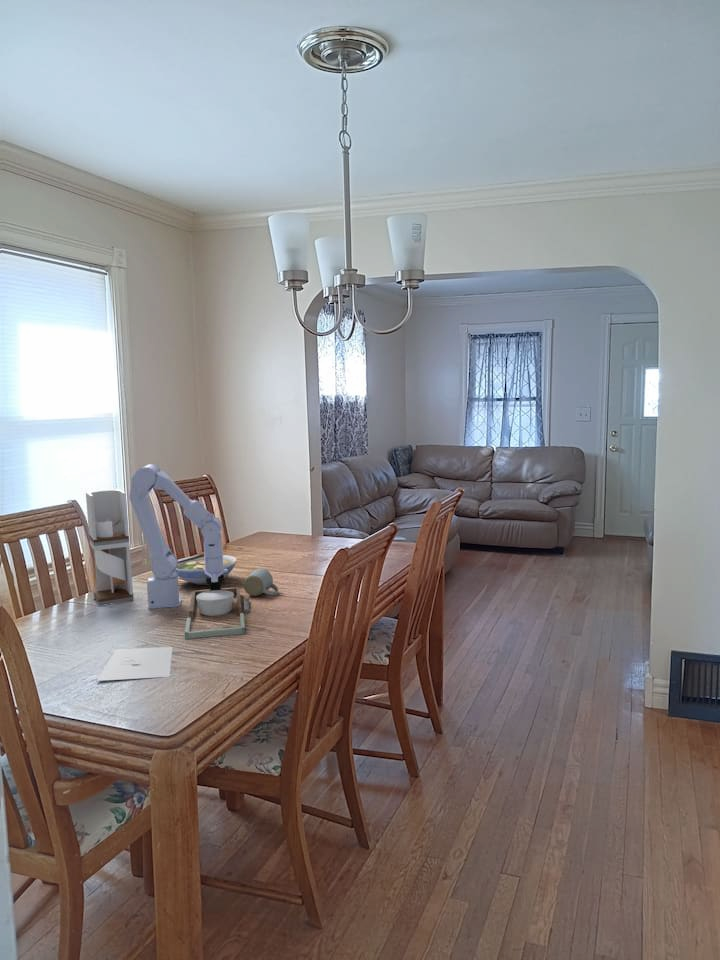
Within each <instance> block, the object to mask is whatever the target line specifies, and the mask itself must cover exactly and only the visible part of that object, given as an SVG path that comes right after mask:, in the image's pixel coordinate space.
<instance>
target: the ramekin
mask: <svg viewBox="0 0 720 960" xmlns="http://www.w3.org/2000/svg"><path fill="white" fill-rule="evenodd" d="M234 597H235V596H234V593H233V592H230V591H224V590H216V591H207V592H203V593H200V594H198V595H197V596H196V602H197V606H198V611H199V613H200V614H201V615H203V616H207V617H215V616H217V617H218V616H223V615H226V614H229V613H230V612H231V611H232V609H233V604H234V603H233V602H234Z"/></svg>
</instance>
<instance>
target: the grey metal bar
mask: <svg viewBox="0 0 720 960" xmlns="http://www.w3.org/2000/svg"><path fill="white" fill-rule="evenodd" d="M243 611H244V612H243V614H249V613H250V598H249V597H248V598H244V599H243Z"/></svg>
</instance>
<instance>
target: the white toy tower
mask: <svg viewBox="0 0 720 960" xmlns="http://www.w3.org/2000/svg"><path fill="white" fill-rule="evenodd" d="M85 500H86V511H87V512H86V514H87V524H88V538H89V545H90V546H91V548H92V549H93V552H94V553H93V555H94V556H93V557H94V566H95V578H96V580H95V581H96V590H93V599H94V600H95V599H96V600H95V602H96V601H97V602H96V603H98V604H97V605H98V606H99V605H101V606H105V605H104V604H107V605H112V604H111V603H114V604H119V602H120V603H126V601H127V602H131V601H132V602H133V601H134V591H133V590H134V589H133V577H132V561H131V550H130V549H131V548H130V534H129V533H130V531H129V520H128V507H127V505H128V503H127V493H126V491H124V490H123V489H120V488H117V489H106V490H95V491H94V490H93V491H85Z"/></svg>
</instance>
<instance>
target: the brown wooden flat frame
mask: <svg viewBox="0 0 720 960" xmlns="http://www.w3.org/2000/svg"><path fill="white" fill-rule="evenodd" d="M240 589H241V588H240V587H239V586H235V587H224V588H223V587H221V590H224V591H230V592H233V593H234V597H236V603H237V605H236V606H237V615H238V616H240V613H243V611H242V602H241V601H242V599H241V591H240ZM207 591H210V588H209V589H200V590H199V589H198V590H197V589H196V590H192V591H191V596H190V597H191V598H190V602H189V603H190V604H189V610H188V615H189V617H188V618H190V617H191V620H194V615H195V609H196V608H195V607H196V602H197V600H196V596H197V595H198V594H200V593H203V592H207Z"/></svg>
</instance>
